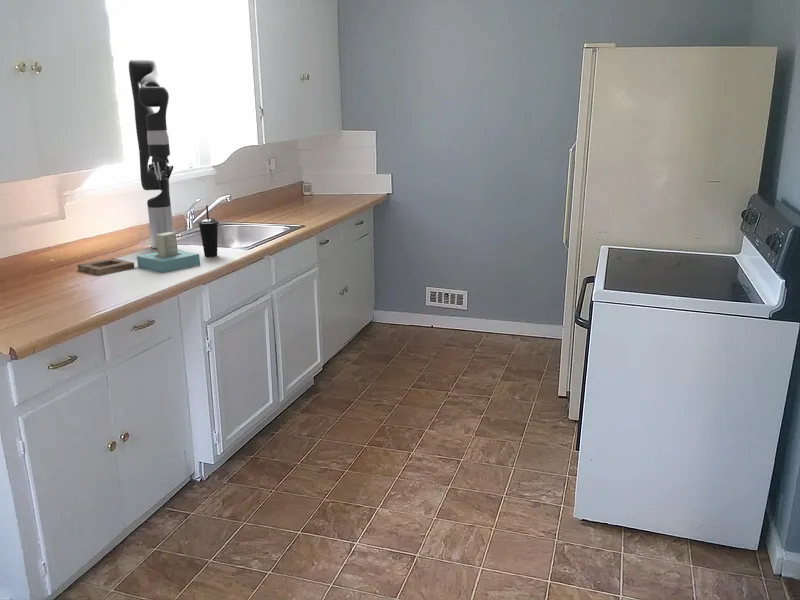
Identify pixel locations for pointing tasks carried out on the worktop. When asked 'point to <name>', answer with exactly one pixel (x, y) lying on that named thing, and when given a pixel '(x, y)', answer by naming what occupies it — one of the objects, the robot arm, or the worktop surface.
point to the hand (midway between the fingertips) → (163, 190)
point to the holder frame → (105, 266)
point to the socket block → (168, 261)
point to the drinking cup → (209, 235)
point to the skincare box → (166, 244)
